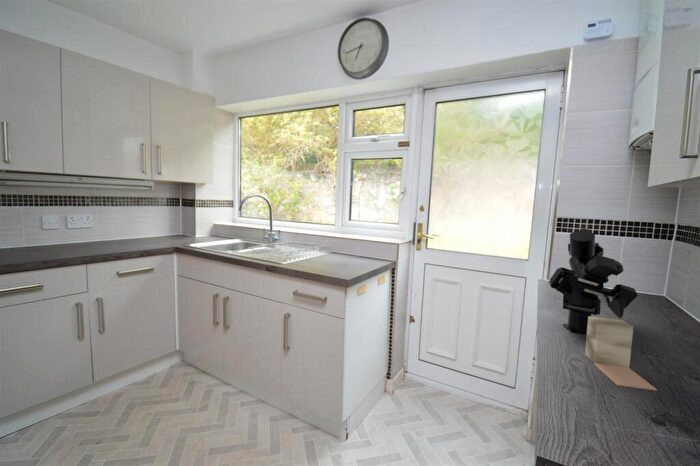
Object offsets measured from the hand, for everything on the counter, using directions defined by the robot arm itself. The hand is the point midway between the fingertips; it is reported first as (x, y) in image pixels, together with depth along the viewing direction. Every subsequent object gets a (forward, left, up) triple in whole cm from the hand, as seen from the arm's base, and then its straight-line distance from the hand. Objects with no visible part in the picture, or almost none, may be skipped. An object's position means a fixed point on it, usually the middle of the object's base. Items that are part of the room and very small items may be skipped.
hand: (600, 310), depth 79 cm
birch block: (+1, +2, -12) cm, 12 cm away
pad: (+9, +1, -12) cm, 15 cm away
